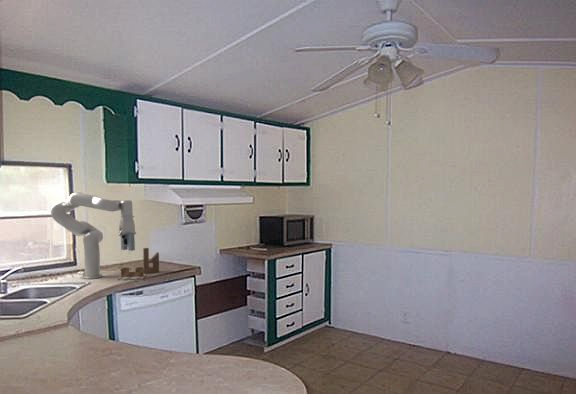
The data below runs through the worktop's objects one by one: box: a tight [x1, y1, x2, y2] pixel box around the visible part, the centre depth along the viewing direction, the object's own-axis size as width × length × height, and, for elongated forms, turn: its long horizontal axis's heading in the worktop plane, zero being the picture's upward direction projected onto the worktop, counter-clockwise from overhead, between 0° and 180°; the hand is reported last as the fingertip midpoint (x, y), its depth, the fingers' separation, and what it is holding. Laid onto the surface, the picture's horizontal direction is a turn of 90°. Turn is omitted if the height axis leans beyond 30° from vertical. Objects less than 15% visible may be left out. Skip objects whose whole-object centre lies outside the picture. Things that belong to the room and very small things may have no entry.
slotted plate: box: [120, 233, 136, 252], centre depth 289 cm, size 3×11×12 cm, turn 57°
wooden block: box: [142, 247, 160, 274], centre depth 301 cm, size 4×11×18 cm, turn 126°
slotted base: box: [117, 266, 147, 281], centre depth 283 cm, size 16×11×7 cm
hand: (127, 243), depth 289 cm, fingers closed on slotted plate, 3 cm apart
